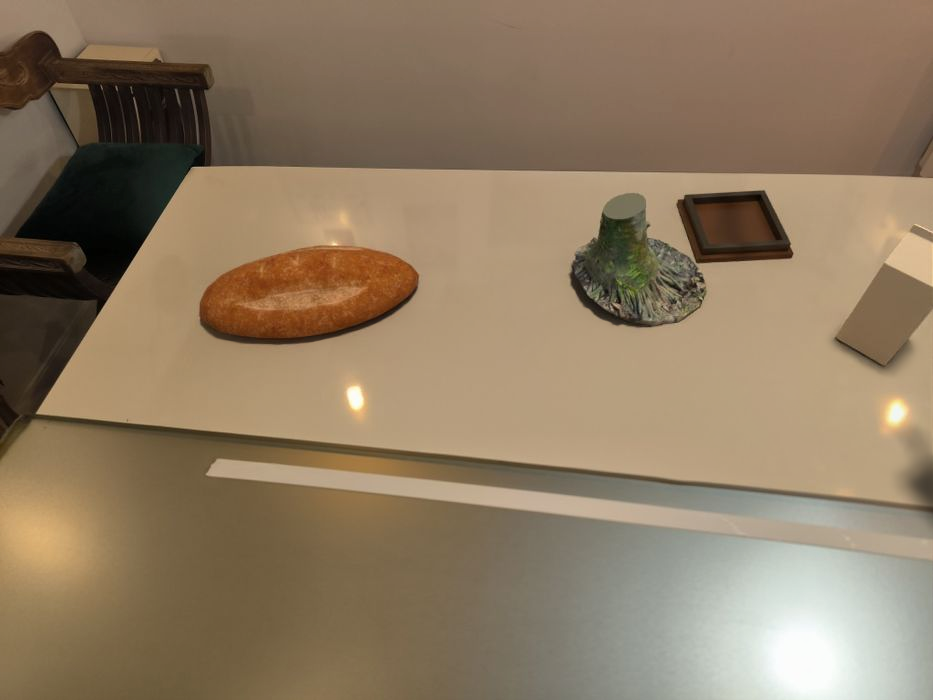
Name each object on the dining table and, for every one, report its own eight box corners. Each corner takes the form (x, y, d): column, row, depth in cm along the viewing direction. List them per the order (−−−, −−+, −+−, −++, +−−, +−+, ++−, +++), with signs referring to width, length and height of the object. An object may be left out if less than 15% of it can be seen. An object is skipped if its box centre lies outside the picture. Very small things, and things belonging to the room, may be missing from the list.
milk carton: (883, 367, 84) (963, 267, 69) (834, 338, 87) (900, 238, 72) (908, 339, 86) (990, 237, 71) (859, 312, 90) (928, 210, 75)
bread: (211, 277, 103) (189, 237, 96) (416, 249, 104) (409, 208, 97) (195, 357, 93) (169, 319, 86) (425, 326, 94) (417, 286, 87)
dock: (762, 198, 107) (767, 187, 105) (791, 258, 97) (797, 246, 96) (676, 203, 107) (679, 192, 105) (697, 263, 98) (700, 251, 96)
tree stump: (697, 345, 89) (693, 255, 76) (566, 333, 98) (542, 251, 85) (715, 256, 98) (714, 163, 85) (594, 253, 107) (576, 169, 94)
